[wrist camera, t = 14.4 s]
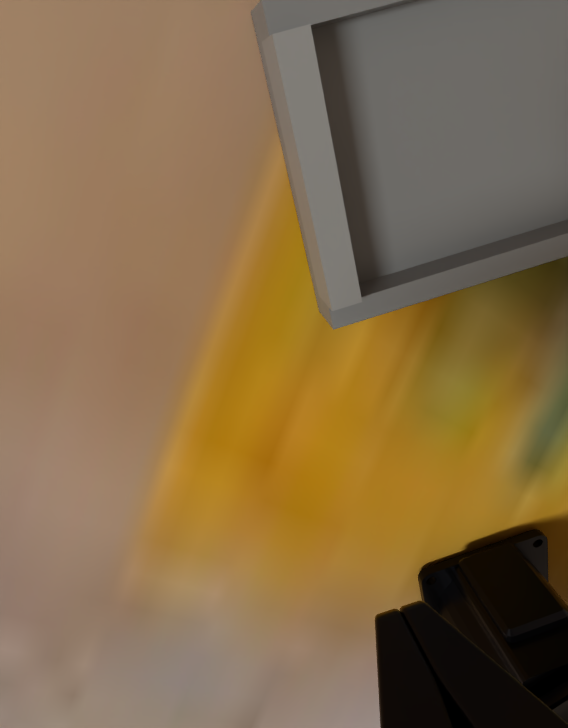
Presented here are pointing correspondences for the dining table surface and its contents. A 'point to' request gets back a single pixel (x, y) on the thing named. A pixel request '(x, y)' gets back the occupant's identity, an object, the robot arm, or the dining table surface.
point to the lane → (419, 142)
